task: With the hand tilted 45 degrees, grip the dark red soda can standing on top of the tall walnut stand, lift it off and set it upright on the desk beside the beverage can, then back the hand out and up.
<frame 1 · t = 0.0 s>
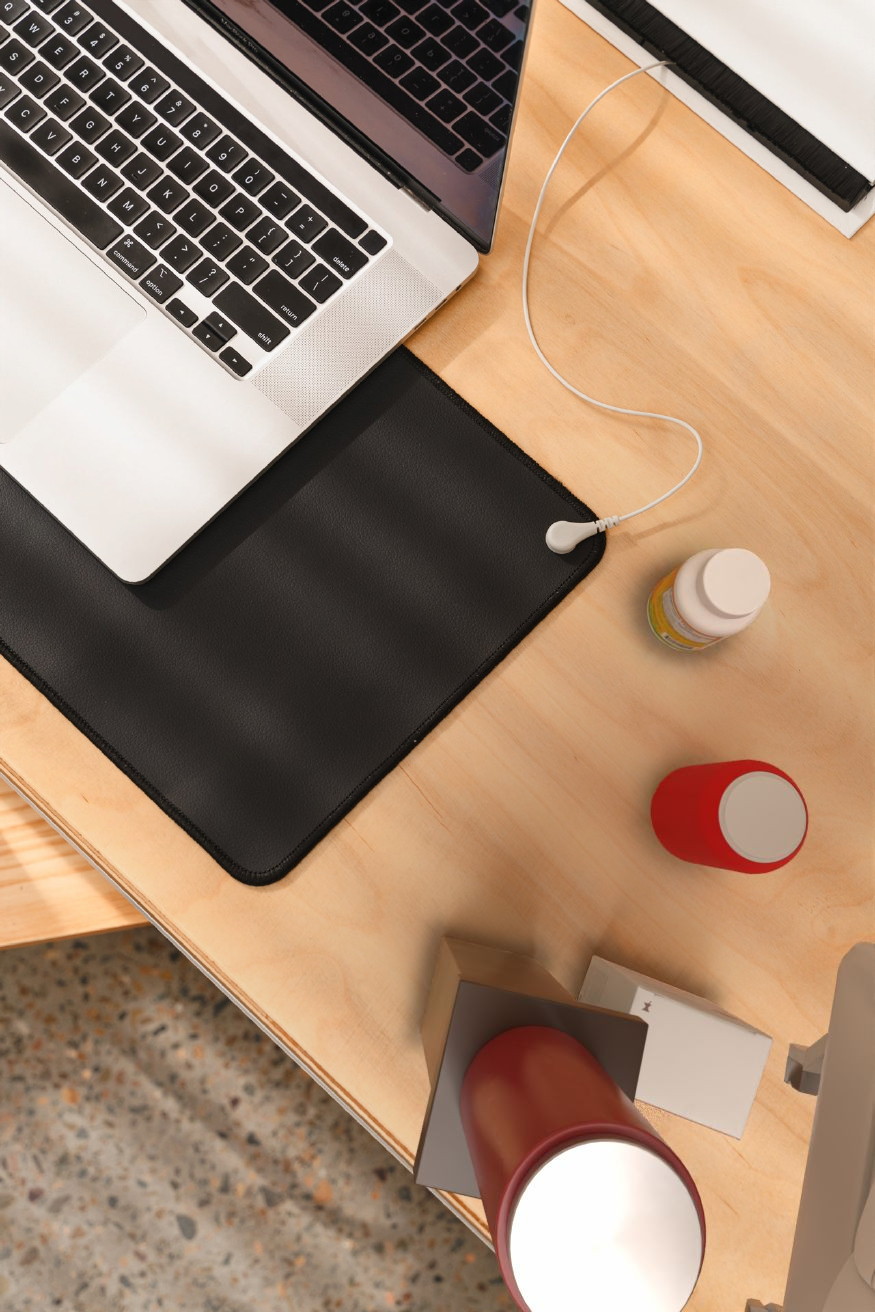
hand: (783, 1190, 38), 24 cm above the table, tool pointing down, fingers open, 8 cm apart
beverage can: (690, 813, 63), on the table
walnut stand: (477, 995, 61), on the table
small box: (635, 1018, 61), on the table
supplement bottle: (683, 613, 65), on the table
soda can: (533, 1103, 39), point 22 cm above the table, touching walnut stand
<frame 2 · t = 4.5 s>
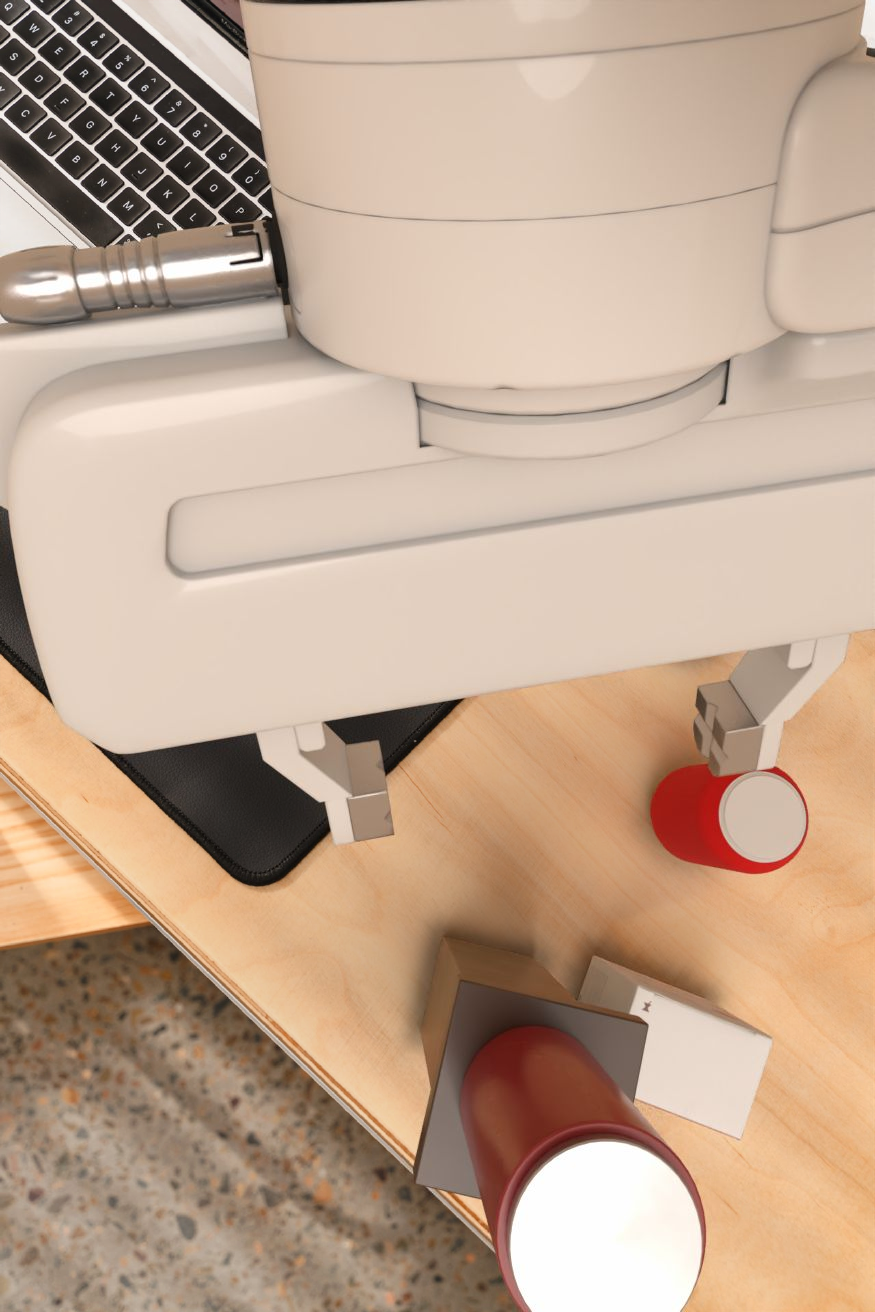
hand: (550, 789, 24), 39 cm above the table, tool tilted 45°, fingers open, 8 cm apart
nothing on the table moved.
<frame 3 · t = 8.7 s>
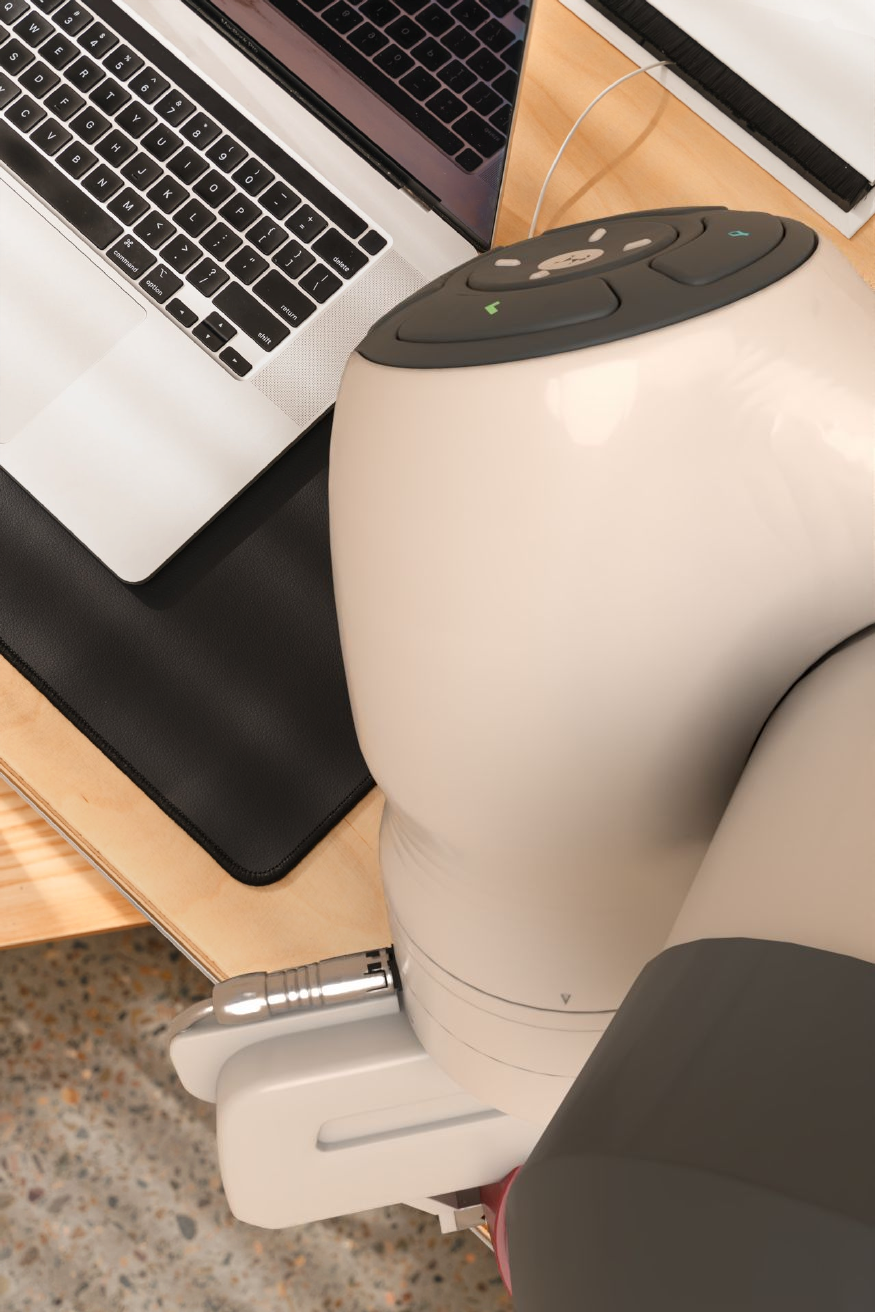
hand: (569, 1182, 33), 29 cm above the table, tool tilted 45°, fingers closed on soda can, 6 cm apart
soda can: (533, 1103, 39), point 22 cm above the table, touching gripper, walnut stand
everything else where it was.
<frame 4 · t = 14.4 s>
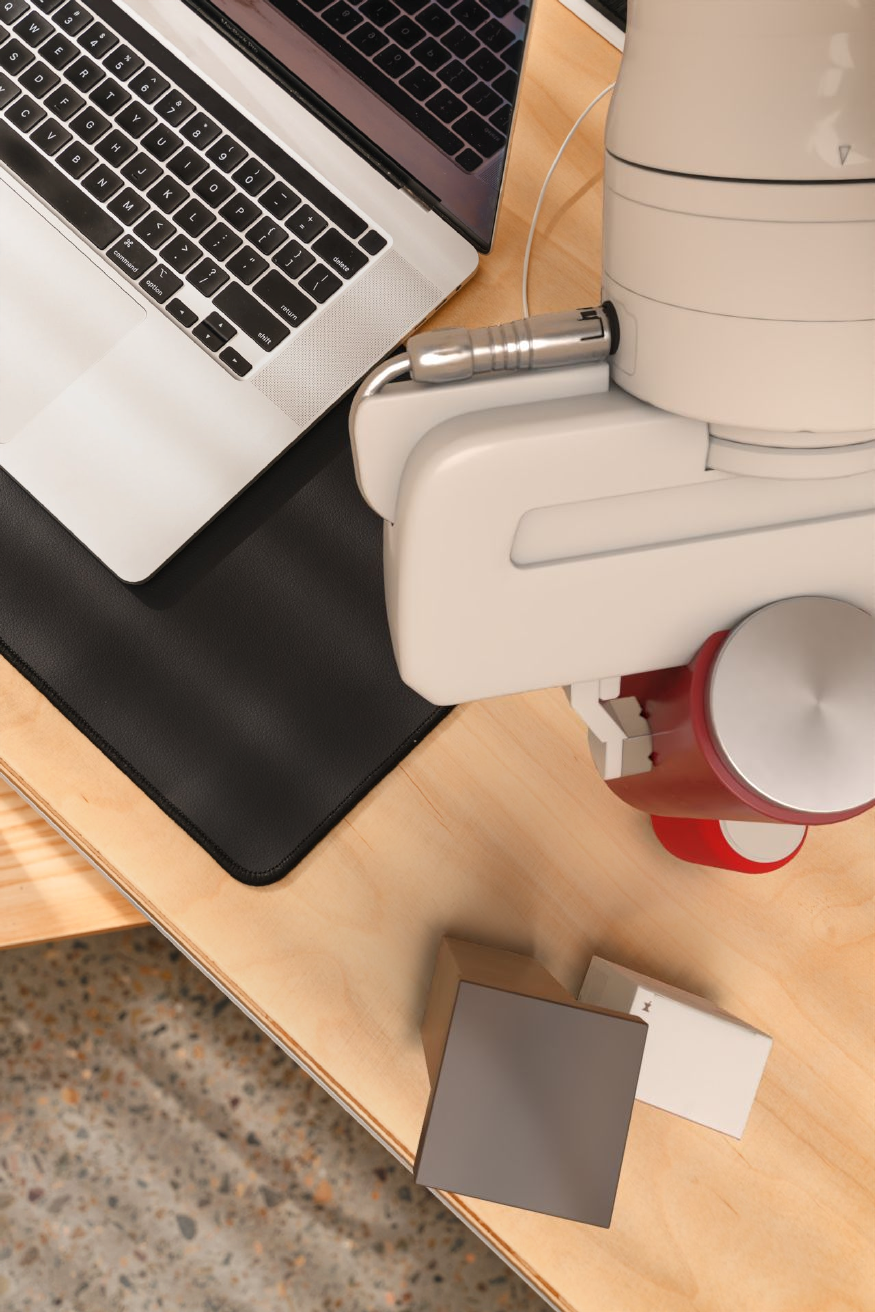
hand: (736, 741, 30), 34 cm above the table, tool tilted 45°, fingers closed on soda can, 6 cm apart
soda can: (667, 735, 37), point 27 cm above the table, touching gripper
everything else where it was.
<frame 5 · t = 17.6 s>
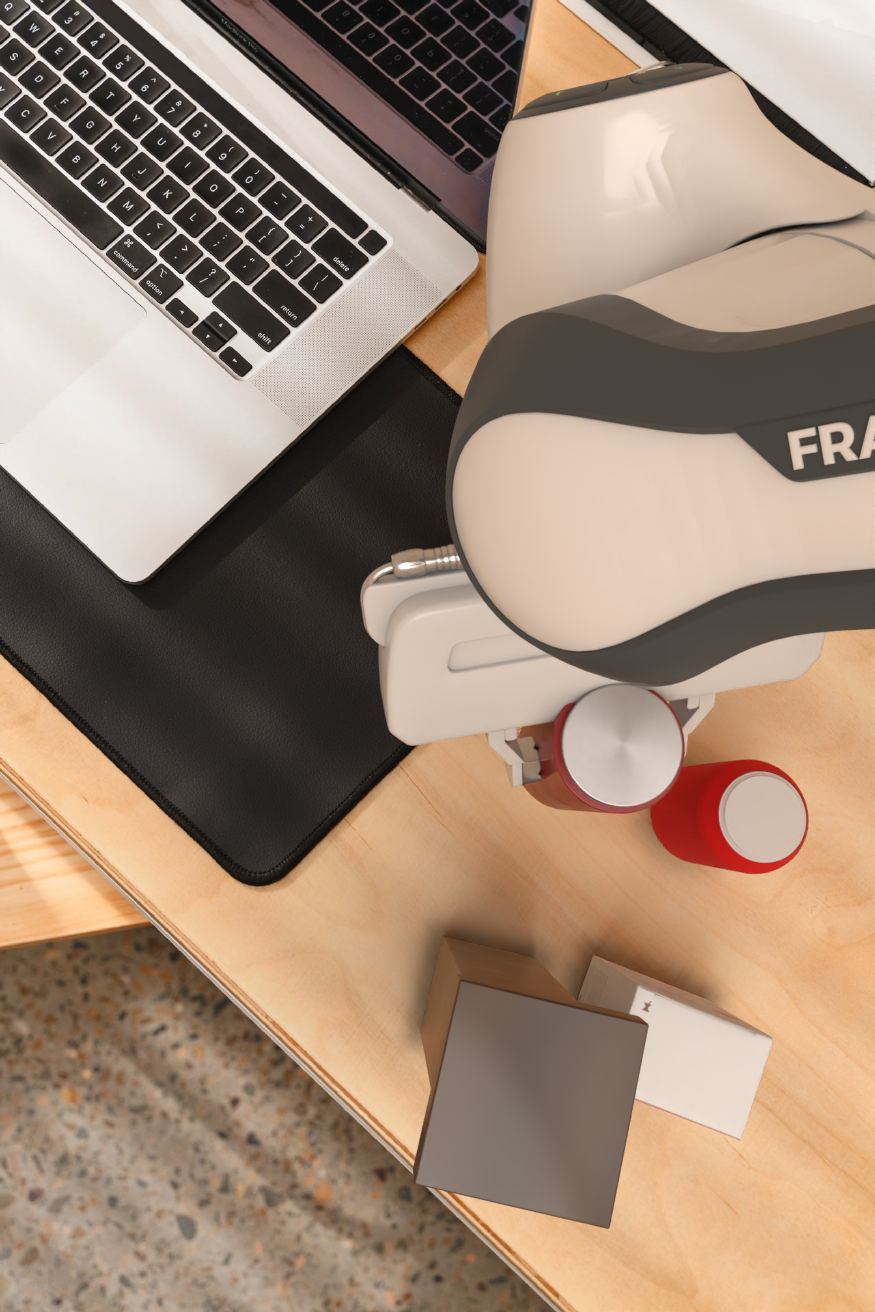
hand: (595, 763, 49), 15 cm above the table, tool tilted 45°, fingers closed on soda can, 6 cm apart
soda can: (566, 756, 55), point 8 cm above the table, touching gripper
everything else where it was.
when the fingers open (6 cm above the table, at t = 20.1 s): soda can stays where it is, on the table.
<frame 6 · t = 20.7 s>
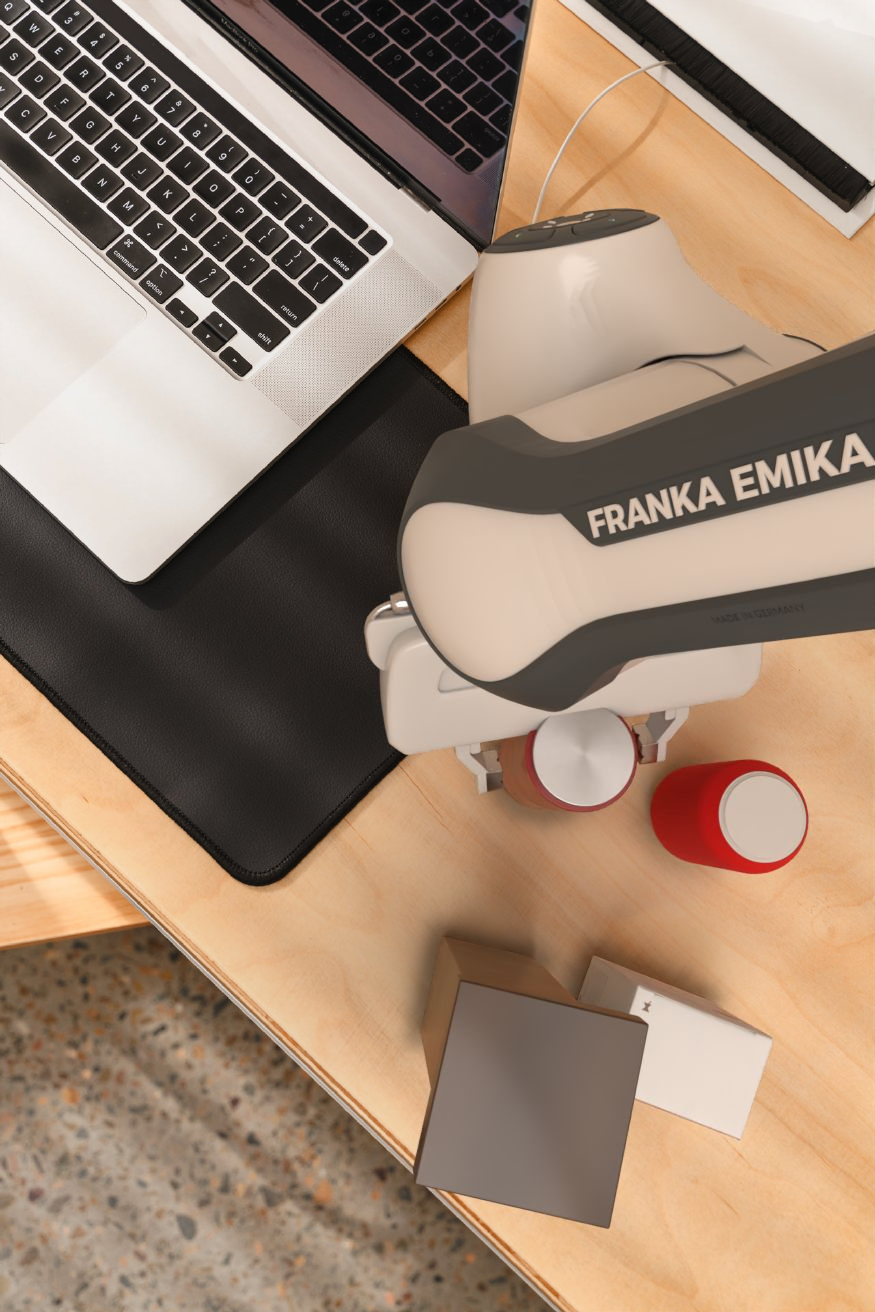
hand: (568, 770, 56), 7 cm above the table, tool tilted 45°, fingers open, 8 cm apart
soda can: (543, 763, 63), on the table
everything else where it was.
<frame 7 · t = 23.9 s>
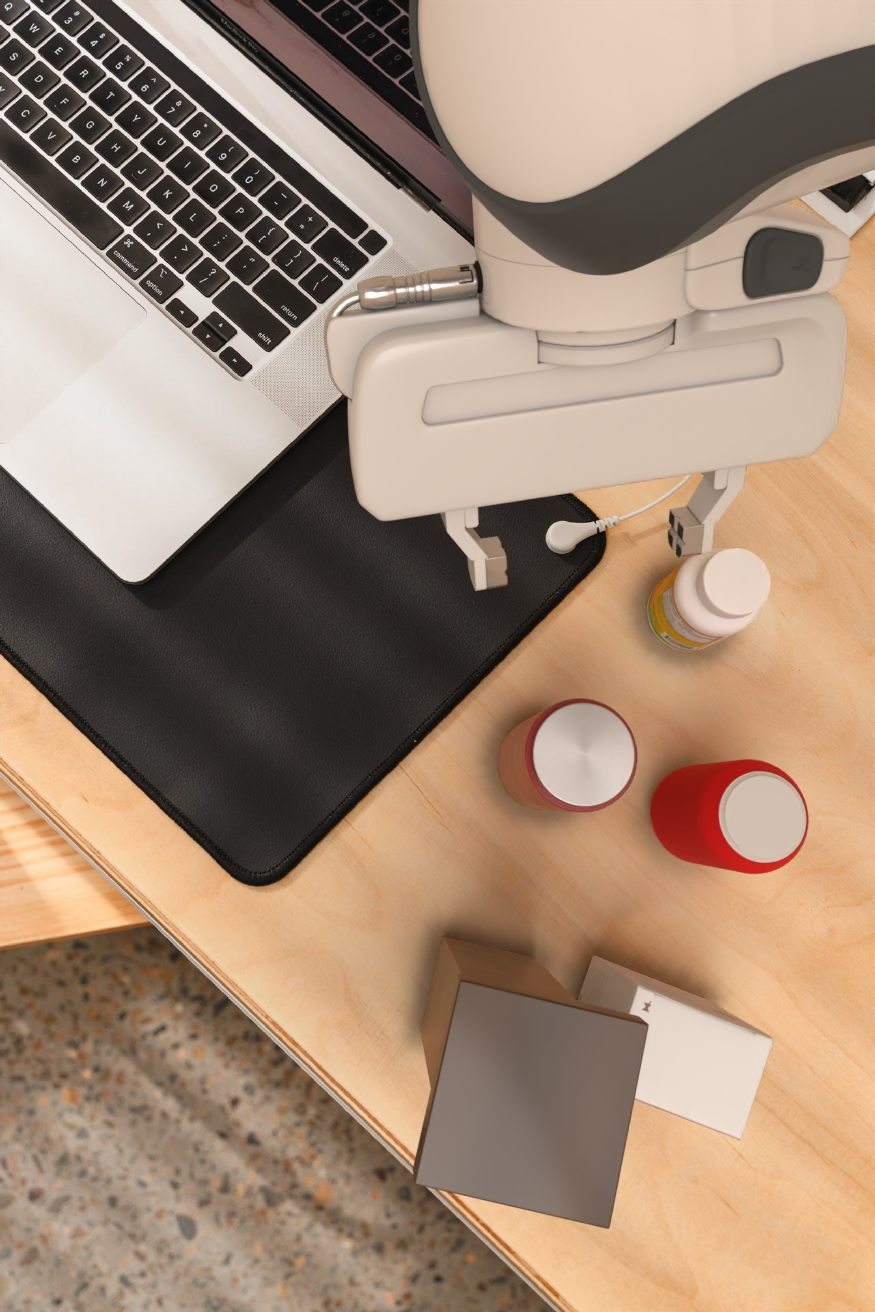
hand: (589, 565, 44), 20 cm above the table, tool tilted 45°, fingers open, 8 cm apart
nothing on the table moved.
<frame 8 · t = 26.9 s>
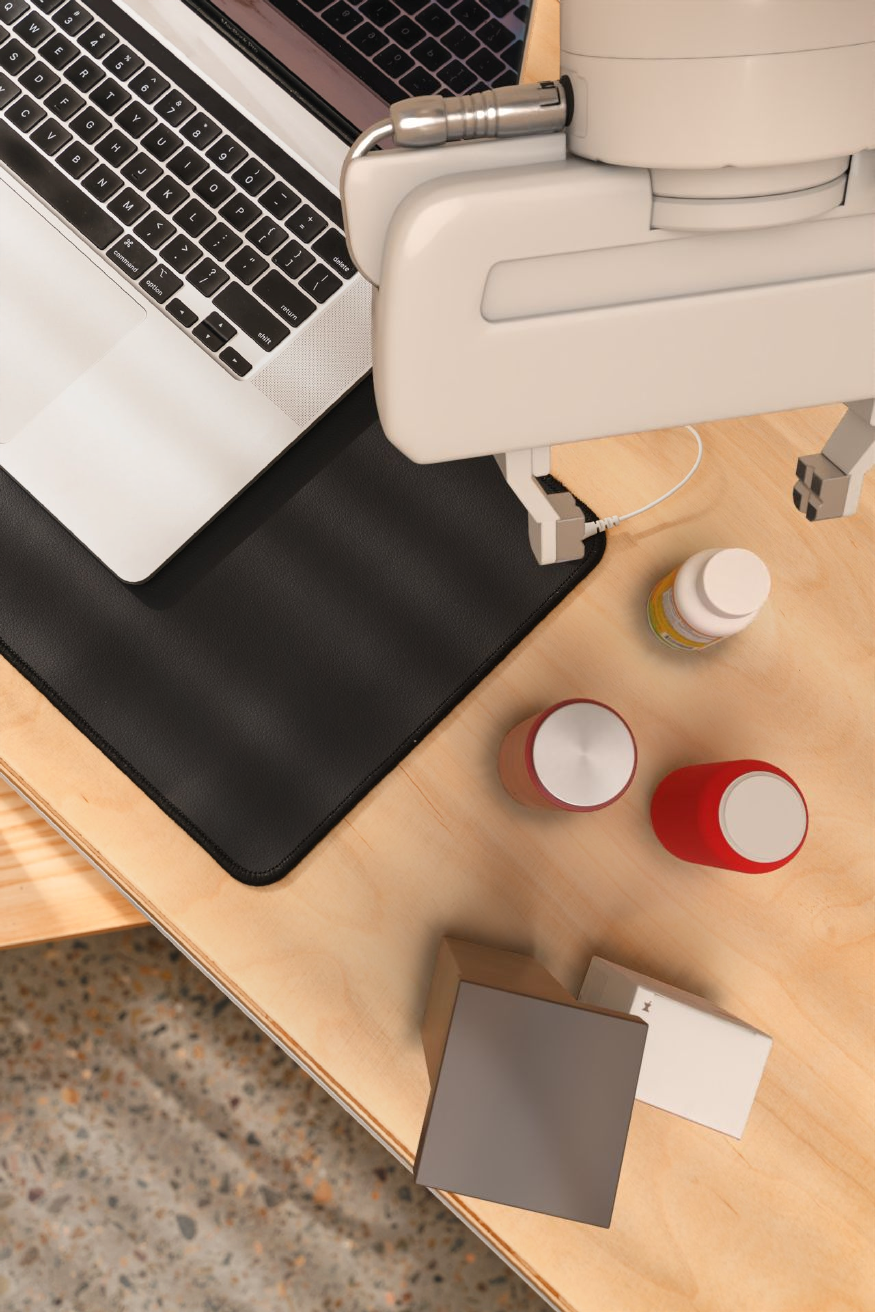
hand: (690, 532, 33), 31 cm above the table, tool tilted 45°, fingers open, 8 cm apart
nothing on the table moved.
at the end: soda can inside the target area on the table beside the beverage can (0.2 cm from its centre), on the table; soda can tilted 0°; the gripper is holding nothing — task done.
